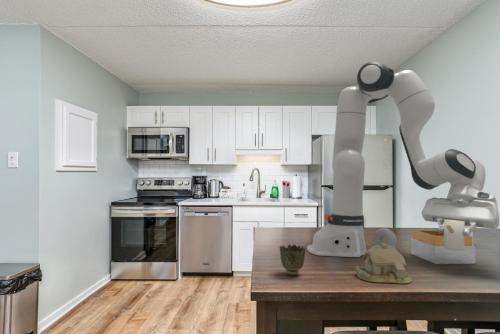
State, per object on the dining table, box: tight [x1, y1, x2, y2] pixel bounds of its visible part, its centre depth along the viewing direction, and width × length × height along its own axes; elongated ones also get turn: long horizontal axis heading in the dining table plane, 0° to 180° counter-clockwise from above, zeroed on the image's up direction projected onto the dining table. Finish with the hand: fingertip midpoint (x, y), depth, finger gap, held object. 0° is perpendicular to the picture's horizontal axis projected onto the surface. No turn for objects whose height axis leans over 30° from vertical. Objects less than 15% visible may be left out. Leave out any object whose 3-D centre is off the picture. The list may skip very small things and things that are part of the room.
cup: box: [279, 243, 307, 277], centre depth 92 cm, size 8×7×8 cm
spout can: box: [443, 219, 465, 251], centre depth 95 cm, size 9×5×8 cm, turn 133°
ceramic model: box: [355, 242, 413, 284], centre depth 90 cm, size 14×11×10 cm
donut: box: [372, 227, 399, 251], centre depth 117 cm, size 10×4×10 cm, turn 27°
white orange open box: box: [410, 229, 476, 265], centre depth 113 cm, size 17×14×9 cm
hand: (453, 233), depth 95 cm, fingers closed on spout can, 5 cm apart
